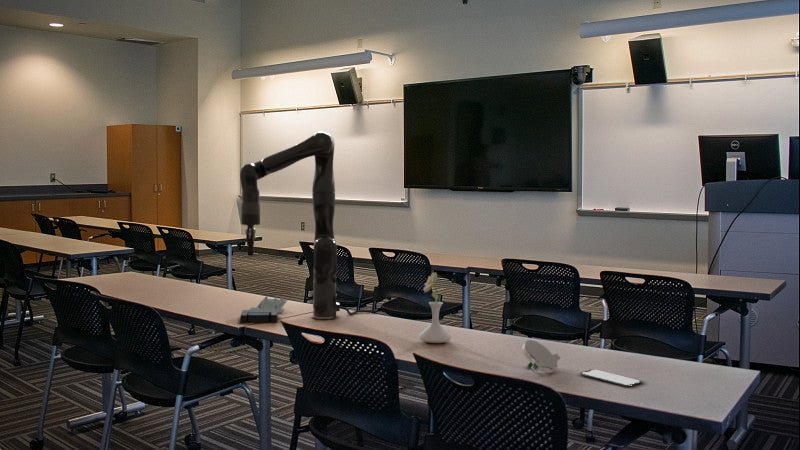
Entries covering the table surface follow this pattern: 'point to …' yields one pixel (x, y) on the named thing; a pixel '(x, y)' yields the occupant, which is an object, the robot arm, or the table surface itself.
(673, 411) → the table surface
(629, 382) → the smartphone
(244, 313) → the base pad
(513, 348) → the table surface
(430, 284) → the flower in vase
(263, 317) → the small black pad
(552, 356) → the tabbed white plastic disc
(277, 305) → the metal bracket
